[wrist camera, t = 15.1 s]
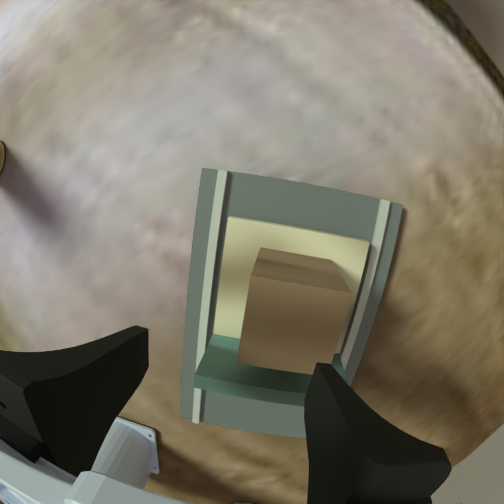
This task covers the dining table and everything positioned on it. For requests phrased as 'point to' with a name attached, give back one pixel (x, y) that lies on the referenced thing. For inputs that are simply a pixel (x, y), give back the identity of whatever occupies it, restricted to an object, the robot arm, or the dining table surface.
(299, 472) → the dining table surface
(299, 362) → the walnut block
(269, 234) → the sliding tray
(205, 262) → the track board
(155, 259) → the dining table surface
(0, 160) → the sprinkles bottle
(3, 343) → the dining table surface
